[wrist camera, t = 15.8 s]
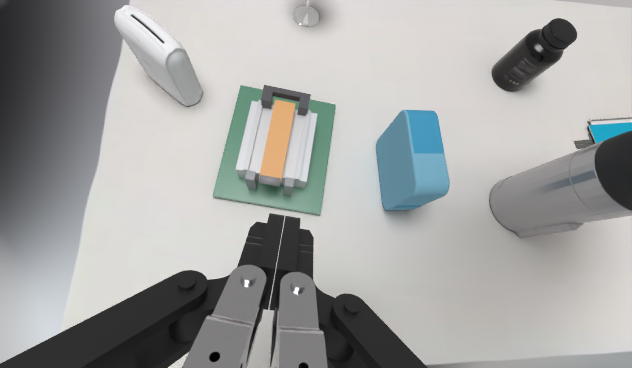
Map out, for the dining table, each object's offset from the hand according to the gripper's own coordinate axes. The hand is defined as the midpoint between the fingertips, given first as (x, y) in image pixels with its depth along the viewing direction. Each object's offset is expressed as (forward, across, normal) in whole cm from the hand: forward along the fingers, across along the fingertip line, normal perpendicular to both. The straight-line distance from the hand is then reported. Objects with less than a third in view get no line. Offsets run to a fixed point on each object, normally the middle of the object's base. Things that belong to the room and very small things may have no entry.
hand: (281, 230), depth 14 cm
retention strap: (+24, +3, +10) cm, 26 cm away
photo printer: (+39, +21, +4) cm, 44 cm away
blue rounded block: (+32, -16, +10) cm, 38 cm away
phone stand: (+43, -62, 0) cm, 75 cm away
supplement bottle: (+50, -38, -8) cm, 64 cm away
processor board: (+33, +3, +9) cm, 34 cm away
